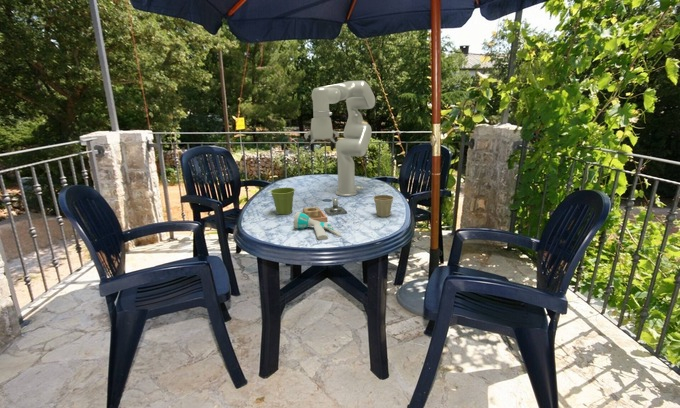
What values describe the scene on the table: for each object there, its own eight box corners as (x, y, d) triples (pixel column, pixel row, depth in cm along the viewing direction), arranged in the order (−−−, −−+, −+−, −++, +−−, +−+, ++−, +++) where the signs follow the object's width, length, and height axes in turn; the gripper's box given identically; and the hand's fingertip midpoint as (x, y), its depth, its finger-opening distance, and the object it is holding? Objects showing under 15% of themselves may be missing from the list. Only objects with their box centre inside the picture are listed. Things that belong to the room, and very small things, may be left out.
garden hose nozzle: (342, 229, 137) (331, 209, 155) (298, 229, 132) (291, 209, 150) (340, 245, 139) (329, 223, 157) (297, 246, 135) (291, 224, 153)
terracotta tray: (321, 214, 167) (321, 209, 166) (327, 221, 156) (327, 217, 155) (297, 216, 164) (297, 212, 163) (301, 224, 153) (301, 220, 152)
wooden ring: (318, 214, 164) (317, 206, 163) (321, 219, 157) (321, 211, 156) (303, 216, 162) (302, 208, 161) (306, 221, 156) (305, 212, 154)
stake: (341, 208, 175) (341, 195, 173) (347, 213, 167) (346, 200, 165) (324, 210, 173) (323, 197, 171) (328, 215, 164) (328, 202, 162)
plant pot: (286, 207, 178) (285, 186, 175) (301, 212, 170) (300, 190, 167) (267, 212, 170) (265, 190, 167) (281, 218, 162) (279, 194, 159)
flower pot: (380, 219, 158) (380, 201, 155) (369, 214, 166) (369, 196, 163) (397, 216, 162) (397, 198, 159) (385, 210, 170) (386, 193, 167)
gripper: (336, 114, 172) (337, 149, 177) (302, 115, 167) (303, 151, 172) (340, 114, 165) (341, 151, 170) (304, 115, 160) (306, 153, 165)
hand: (322, 151), depth 171 cm, fingers open, 9 cm apart
